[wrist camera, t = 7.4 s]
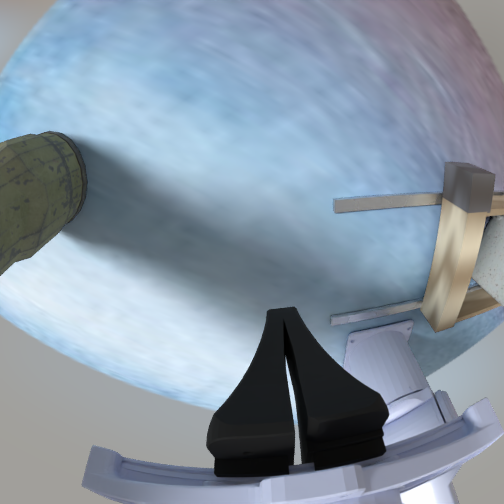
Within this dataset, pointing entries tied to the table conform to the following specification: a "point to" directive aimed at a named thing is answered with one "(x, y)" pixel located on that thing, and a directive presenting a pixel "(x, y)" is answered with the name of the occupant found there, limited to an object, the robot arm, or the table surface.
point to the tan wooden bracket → (460, 246)
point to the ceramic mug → (491, 260)
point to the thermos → (37, 192)
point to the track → (380, 203)
